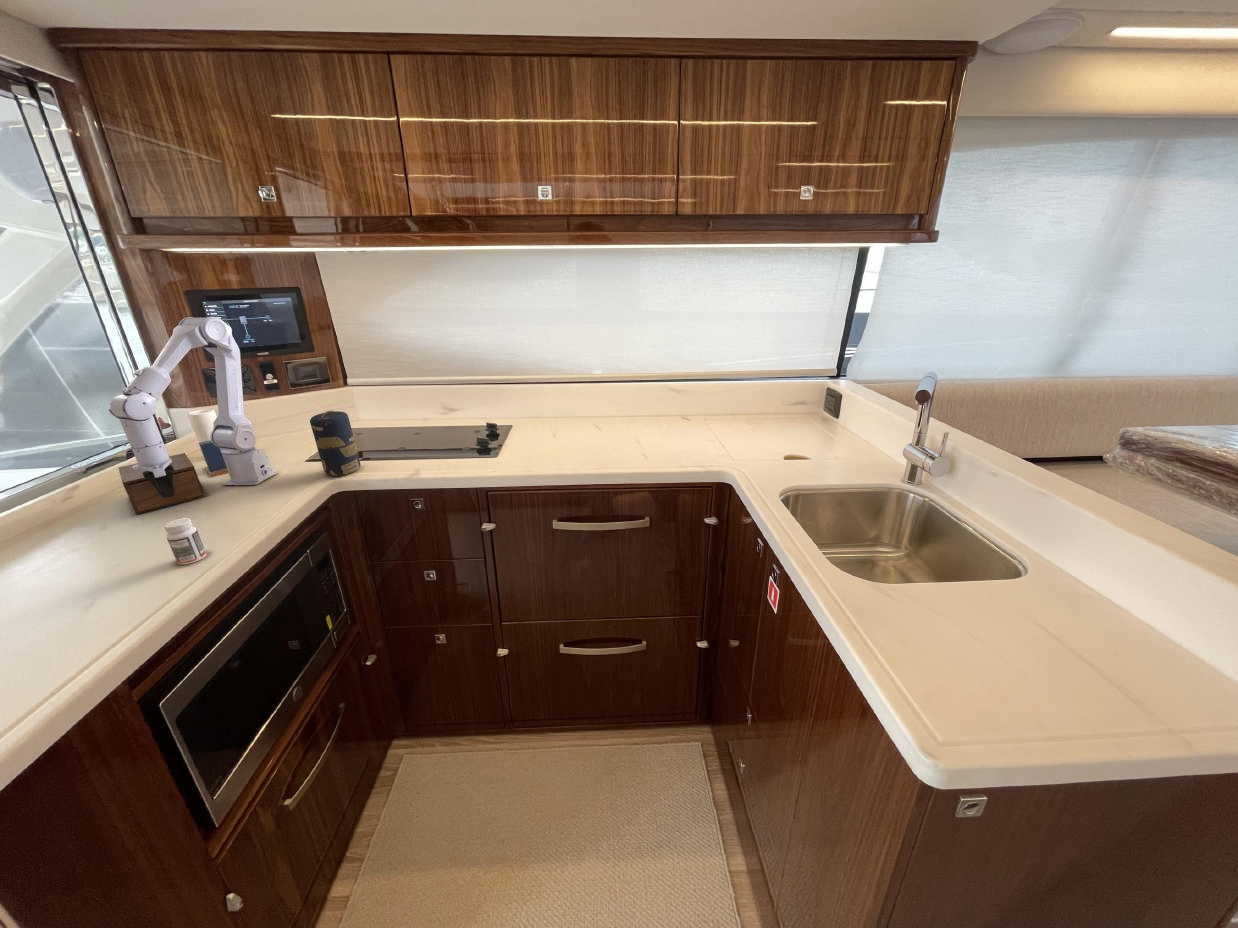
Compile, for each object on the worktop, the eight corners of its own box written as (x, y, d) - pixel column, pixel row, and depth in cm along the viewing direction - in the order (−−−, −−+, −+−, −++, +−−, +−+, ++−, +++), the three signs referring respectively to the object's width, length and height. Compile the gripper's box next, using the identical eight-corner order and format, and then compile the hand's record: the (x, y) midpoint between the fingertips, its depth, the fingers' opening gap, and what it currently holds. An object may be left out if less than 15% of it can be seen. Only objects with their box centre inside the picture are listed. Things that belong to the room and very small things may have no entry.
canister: (369, 467, 146) (354, 407, 140) (342, 479, 138) (326, 416, 131) (344, 464, 149) (328, 405, 143) (316, 476, 141) (299, 414, 134)
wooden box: (205, 496, 131) (193, 465, 128) (136, 514, 122) (122, 482, 119) (195, 481, 141) (184, 452, 138) (131, 497, 132) (118, 467, 129)
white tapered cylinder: (216, 460, 157) (199, 414, 152) (198, 460, 158) (181, 414, 153) (235, 453, 163) (219, 408, 158) (218, 452, 165) (202, 408, 159)
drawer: (202, 496, 129) (193, 471, 126) (139, 513, 121) (127, 487, 118) (193, 481, 139) (184, 458, 137) (133, 495, 131) (123, 471, 128)
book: (246, 463, 152) (237, 437, 149) (210, 472, 147) (200, 444, 143) (244, 461, 155) (235, 434, 151) (208, 469, 149) (198, 442, 146)
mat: (251, 466, 151) (251, 465, 151) (211, 476, 144) (210, 475, 144) (244, 459, 157) (244, 458, 157) (205, 468, 151) (204, 467, 151)
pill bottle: (196, 551, 104) (182, 515, 101) (212, 554, 103) (198, 518, 100) (171, 563, 100) (155, 526, 97) (187, 566, 99) (172, 529, 95)
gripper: (122, 442, 120) (144, 493, 125) (126, 455, 111) (150, 510, 116) (160, 435, 125) (180, 485, 130) (167, 447, 115) (188, 500, 120)
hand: (168, 496), depth 123 cm, fingers closed, pressing on drawer
